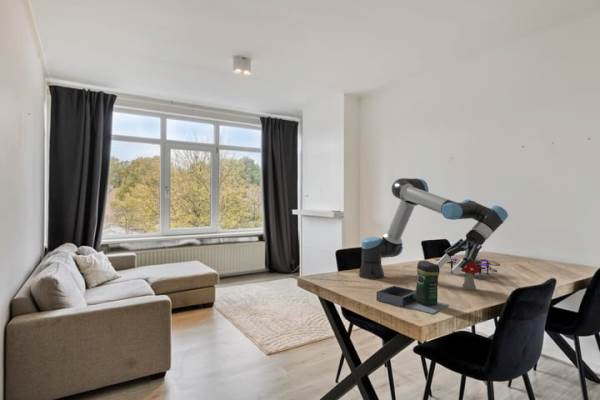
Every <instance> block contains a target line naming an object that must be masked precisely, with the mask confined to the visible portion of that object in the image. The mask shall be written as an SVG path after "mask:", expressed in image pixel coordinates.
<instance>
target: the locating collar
mask: <svg viewBox="0 0 600 400" xmlns="http://www.w3.org/2000/svg"><path fill="white" fill-rule="evenodd" d="M415 293H416V289H415V290H414V289H412V288H406V287H403V286H402V287H401V286H397V285H391V286H389V287H386V288H383V289H380V290H378V291H376V301H377V302H382V303H385V304H389V305H393V306H398V307H401V308H404V307H406V306H408V305H410V304H412V303H414V302H416V301H417V300H416V299H415Z"/></svg>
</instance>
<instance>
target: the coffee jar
mask: <svg viewBox="0 0 600 400" xmlns="http://www.w3.org/2000/svg"><path fill="white" fill-rule="evenodd" d="M440 272H441V270H440V267H439V266H438V265H437V264H436V263H434V262H430V261H428V260H419V261H418V262H417V266H416V273H417V275H416V276H417V277H416V278H417V279H416V287H415V290H416V293H415V299H416V300H417V301H418V302H420V303H422V304H424V305H430V306H433V305H436V304H437V302H438V299H439V297H438V296H439V295H438V293H439V292H438V287H439V282H438V281H439V275H440Z"/></svg>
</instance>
